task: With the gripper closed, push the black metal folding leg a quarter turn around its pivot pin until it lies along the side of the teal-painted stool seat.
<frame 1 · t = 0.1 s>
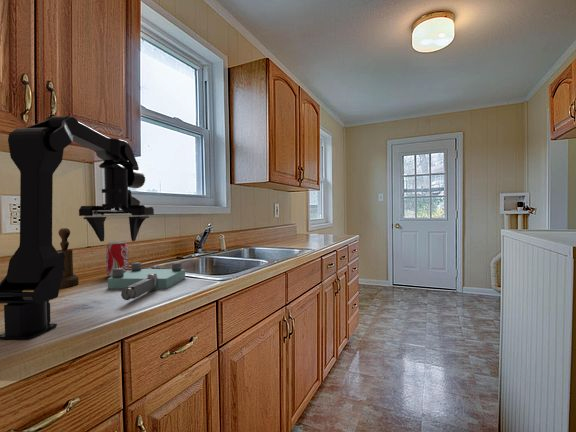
hand: (117, 241, 86), 15 cm above the worktop, fingers open, 9 cm apart
stool seat: (149, 282, 98), on the worktop
soda can: (118, 276, 109), on the worktop
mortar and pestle: (65, 286, 96), on the worktop
folding leg: (141, 287, 82), point 3 cm above the worktop, hinge at 0.0°
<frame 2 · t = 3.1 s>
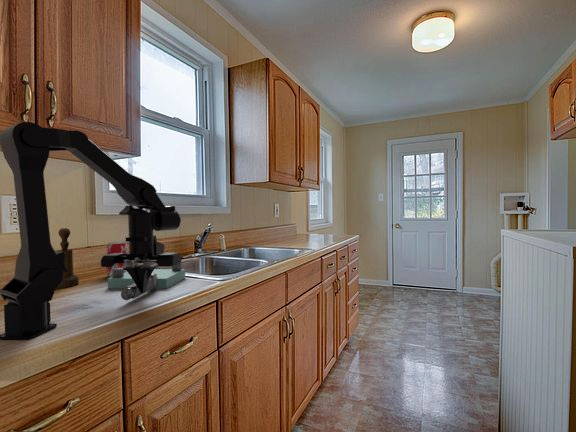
hand: (142, 292, 79), 2 cm above the worktop, fingers closed
folding leg: (141, 287, 82), point 3 cm above the worktop, hinge at -0.4°, touching gripper
everything else where it was.
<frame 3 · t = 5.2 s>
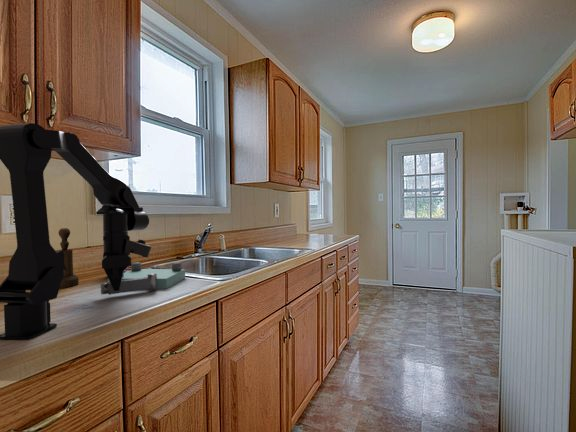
hand: (116, 290, 81), 2 cm above the worktop, fingers closed
folding leg: (130, 284, 85), point 3 cm above the worktop, hinge at -52.4°, touching gripper
everything else where it was.
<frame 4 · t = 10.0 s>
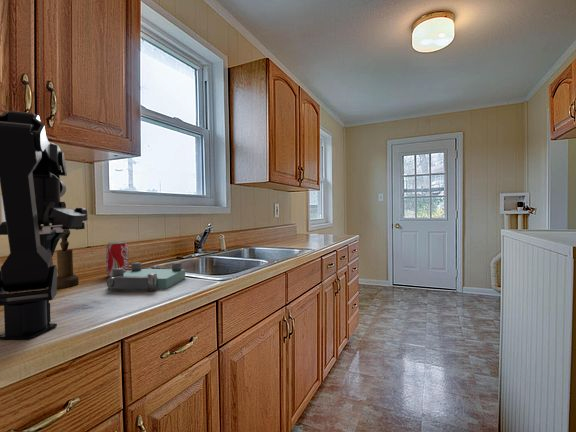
hand: (47, 261, 75), 11 cm above the worktop, fingers closed
folding leg: (133, 281, 88), point 3 cm above the worktop, hinge at -89.8°
everything else where it was.
at the end: folding leg at -90° (first picture: +0°); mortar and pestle moved 0.2 cm from its start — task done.
